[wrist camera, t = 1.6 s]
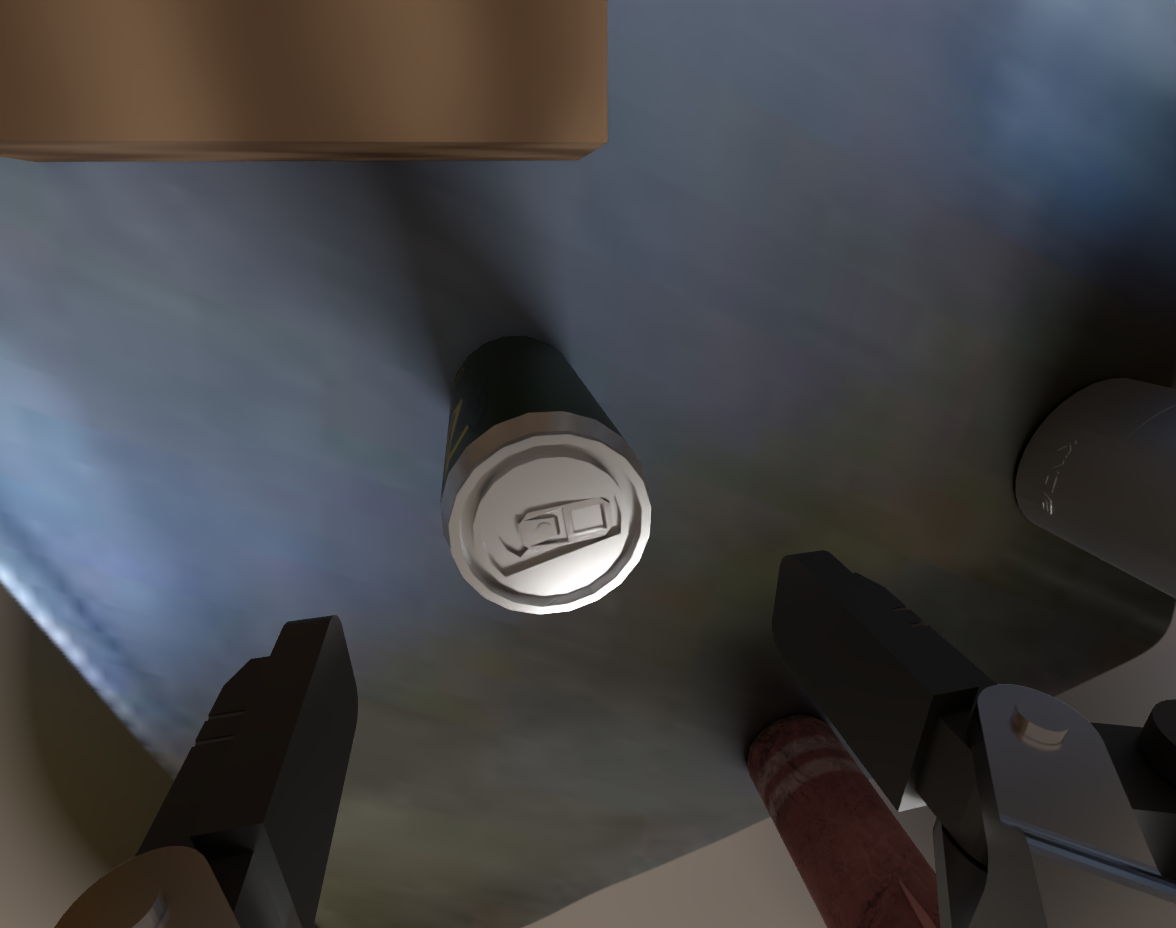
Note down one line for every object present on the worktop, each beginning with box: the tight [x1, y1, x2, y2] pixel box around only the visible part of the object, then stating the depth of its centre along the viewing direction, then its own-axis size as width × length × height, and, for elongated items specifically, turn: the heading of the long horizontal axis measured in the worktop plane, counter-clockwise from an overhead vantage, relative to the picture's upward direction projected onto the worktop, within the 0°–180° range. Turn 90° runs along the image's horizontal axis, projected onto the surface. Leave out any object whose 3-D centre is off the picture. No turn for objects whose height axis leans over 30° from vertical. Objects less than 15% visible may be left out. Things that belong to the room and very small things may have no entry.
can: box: [747, 715, 940, 928], centre depth 31 cm, size 6×6×14 cm
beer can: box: [440, 336, 651, 614], centre depth 19 cm, size 5×5×12 cm
